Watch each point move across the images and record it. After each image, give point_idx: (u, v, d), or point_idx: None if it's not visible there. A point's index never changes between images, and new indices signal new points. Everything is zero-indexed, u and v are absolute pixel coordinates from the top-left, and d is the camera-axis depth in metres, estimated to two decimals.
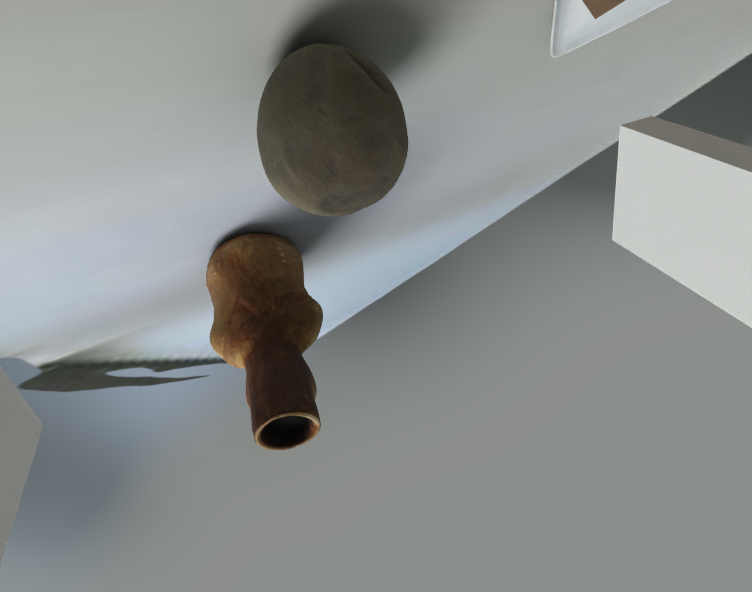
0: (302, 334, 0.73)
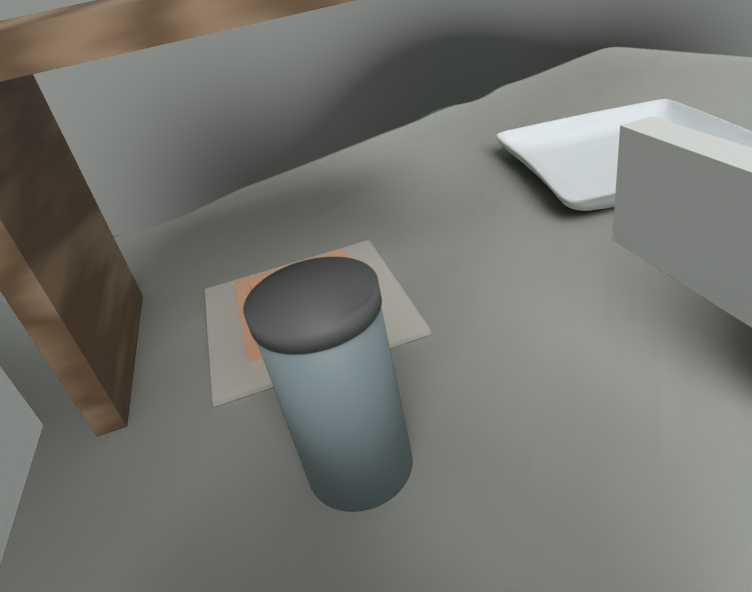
0: None
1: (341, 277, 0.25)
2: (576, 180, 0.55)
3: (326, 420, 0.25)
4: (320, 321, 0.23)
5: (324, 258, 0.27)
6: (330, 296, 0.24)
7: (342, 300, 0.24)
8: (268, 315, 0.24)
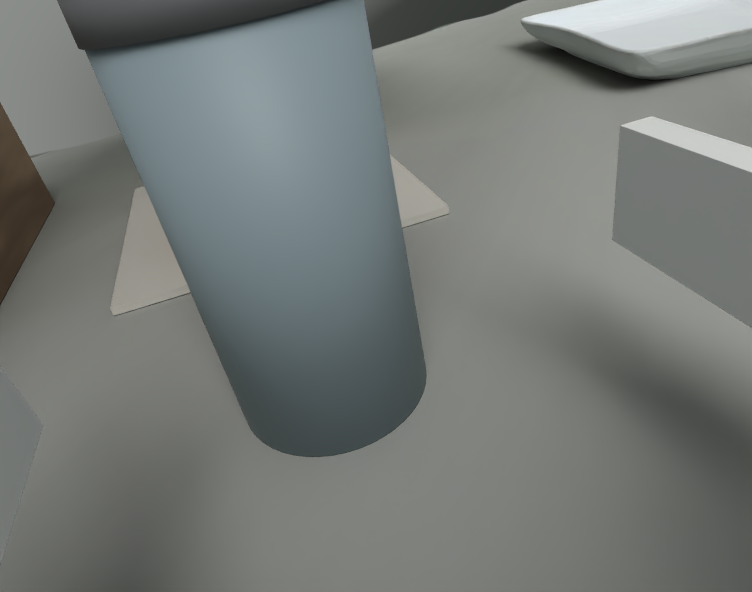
0: None
1: None
2: None
3: (247, 242, 0.12)
4: None
5: None
6: None
7: None
8: None
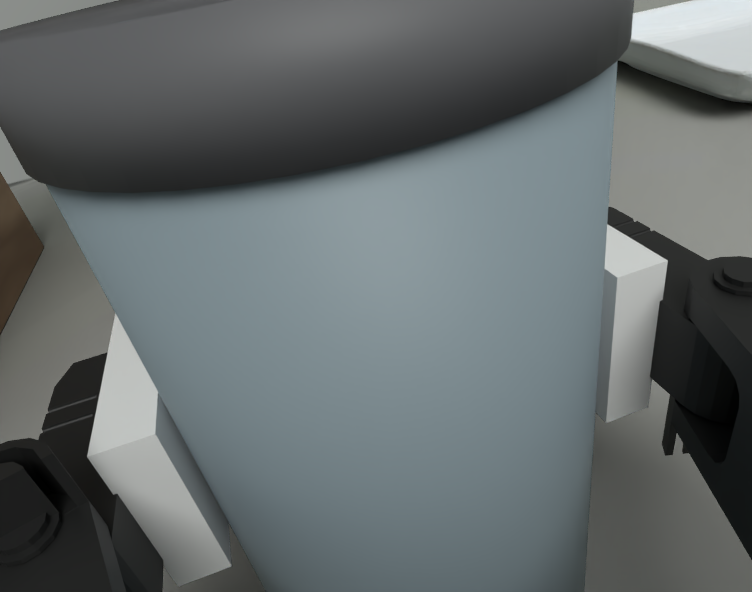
0: None
1: None
2: None
3: (368, 538, 0.06)
4: None
5: None
6: None
7: None
8: (74, 19, 0.05)
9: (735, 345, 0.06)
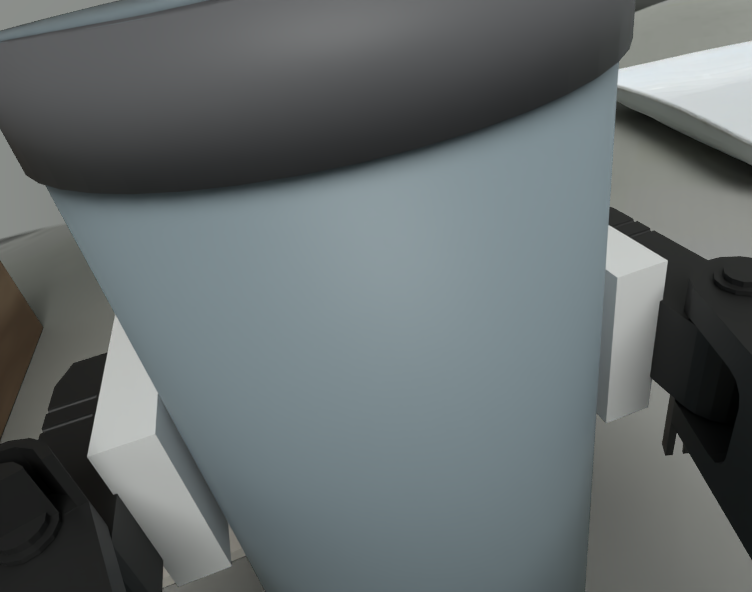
0: None
1: None
2: None
3: (368, 539, 0.06)
4: None
5: None
6: None
7: None
8: (74, 19, 0.05)
9: (734, 345, 0.06)
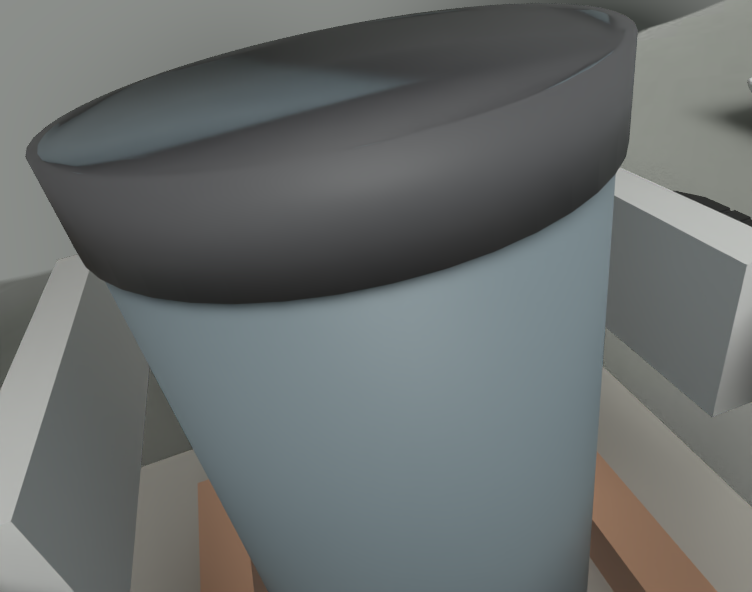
0: None
1: (442, 29, 0.07)
2: None
3: (387, 585, 0.06)
4: (389, 114, 0.04)
5: (366, 22, 0.08)
6: (416, 58, 0.06)
7: (479, 58, 0.05)
8: (130, 130, 0.05)
9: None
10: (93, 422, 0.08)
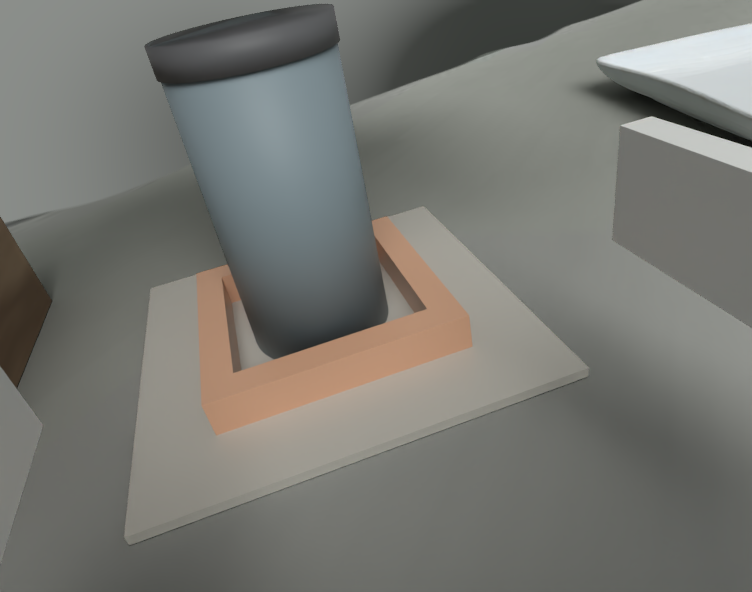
0: None
1: (285, 13, 0.19)
2: None
3: (261, 206, 0.18)
4: (244, 31, 0.16)
5: (267, 11, 0.20)
6: (266, 21, 0.17)
7: (280, 20, 0.17)
8: (176, 41, 0.17)
9: None
10: None
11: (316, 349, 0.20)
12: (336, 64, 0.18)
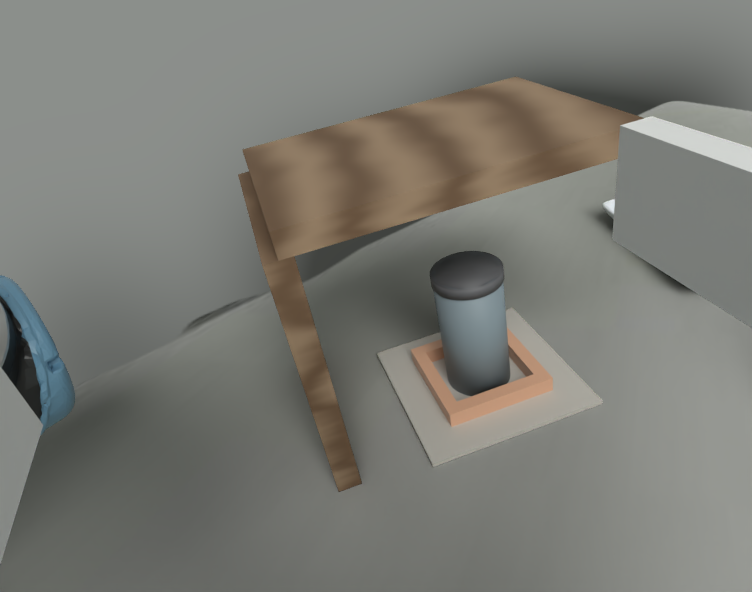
0: None
1: (481, 261, 0.47)
2: None
3: (473, 338, 0.47)
4: (477, 283, 0.45)
5: (467, 252, 0.49)
6: (478, 271, 0.46)
7: (485, 273, 0.46)
8: (446, 281, 0.46)
9: None
10: None
11: (490, 392, 0.49)
12: (503, 284, 0.47)
